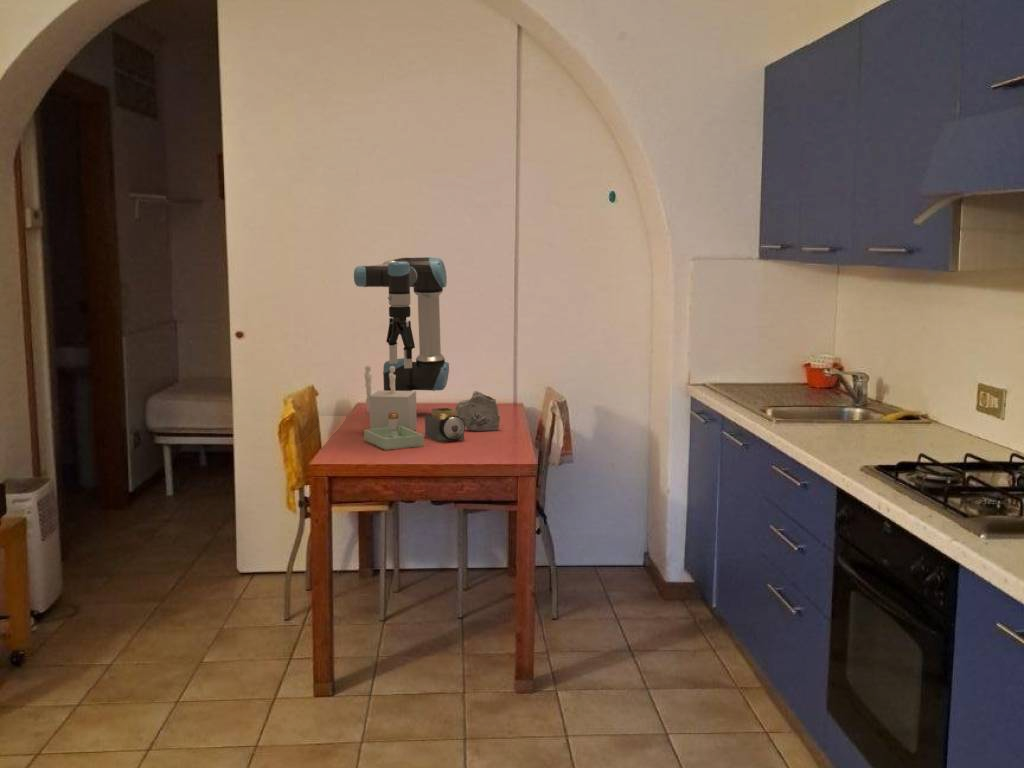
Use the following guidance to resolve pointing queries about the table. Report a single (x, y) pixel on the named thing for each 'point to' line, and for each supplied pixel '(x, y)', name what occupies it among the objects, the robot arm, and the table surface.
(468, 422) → the fossil
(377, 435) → the tray
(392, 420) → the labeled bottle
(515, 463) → the table surface
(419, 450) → the table surface
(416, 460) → the table surface
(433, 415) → the block
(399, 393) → the grey box
